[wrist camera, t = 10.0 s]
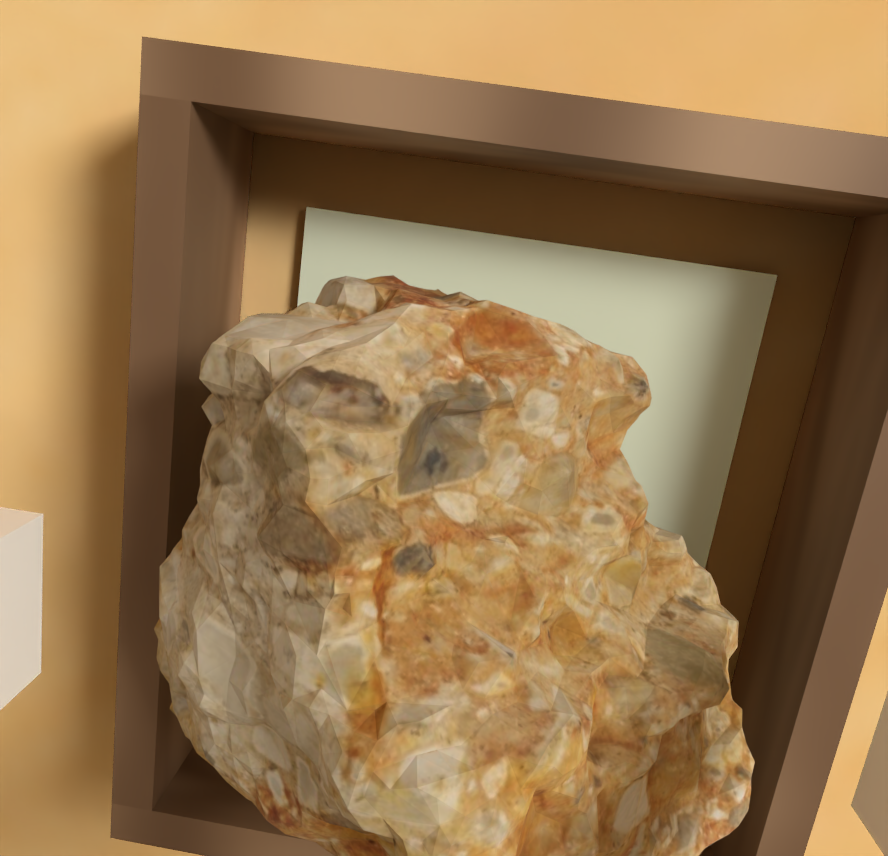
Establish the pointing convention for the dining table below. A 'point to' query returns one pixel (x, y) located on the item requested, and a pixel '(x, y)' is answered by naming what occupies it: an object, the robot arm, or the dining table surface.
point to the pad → (595, 334)
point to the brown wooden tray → (535, 150)
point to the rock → (444, 592)
